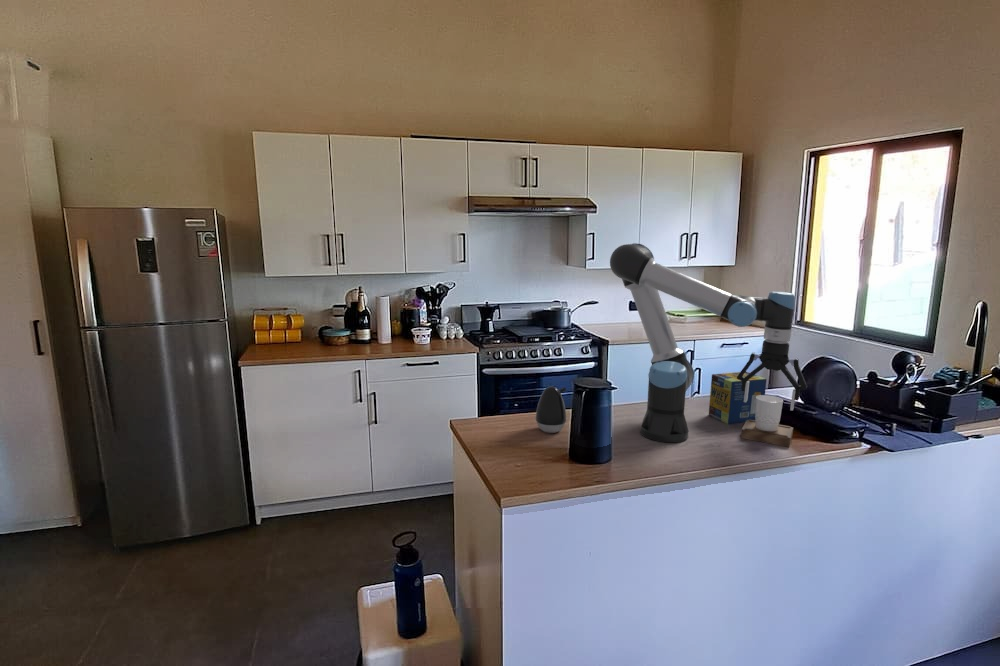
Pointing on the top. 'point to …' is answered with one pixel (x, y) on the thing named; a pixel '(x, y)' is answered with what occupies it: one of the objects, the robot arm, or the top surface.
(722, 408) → the protein box
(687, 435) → the robot arm
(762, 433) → the tan flat block
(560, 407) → the dark grey egg
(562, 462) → the top surface
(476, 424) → the top surface
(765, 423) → the white cup
